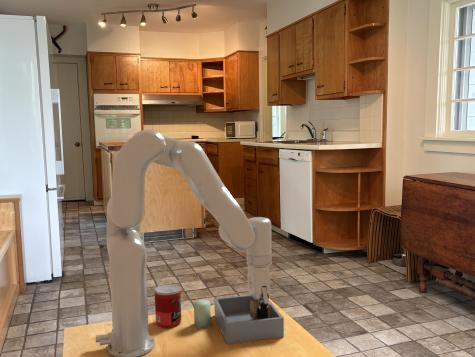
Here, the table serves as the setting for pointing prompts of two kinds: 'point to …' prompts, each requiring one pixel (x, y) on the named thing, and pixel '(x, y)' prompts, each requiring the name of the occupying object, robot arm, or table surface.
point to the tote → (246, 320)
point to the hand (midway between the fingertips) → (259, 316)
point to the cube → (254, 309)
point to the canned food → (168, 305)
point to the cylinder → (202, 314)
